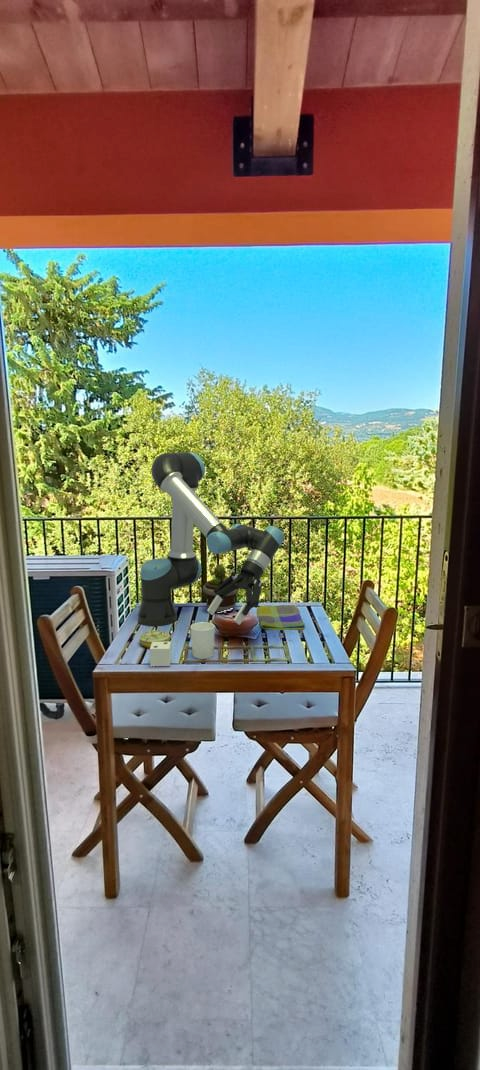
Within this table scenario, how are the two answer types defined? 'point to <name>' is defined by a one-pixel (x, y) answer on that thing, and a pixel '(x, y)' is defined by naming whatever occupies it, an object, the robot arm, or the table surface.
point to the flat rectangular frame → (239, 659)
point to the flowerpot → (228, 599)
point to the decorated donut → (153, 637)
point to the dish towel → (280, 617)
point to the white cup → (202, 639)
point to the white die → (160, 654)
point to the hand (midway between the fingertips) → (222, 617)
